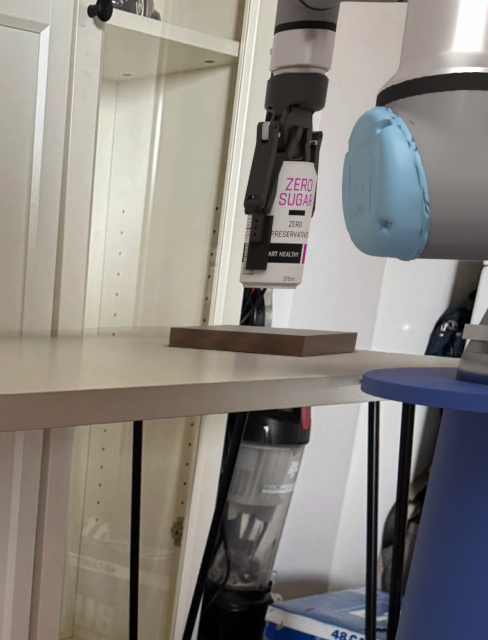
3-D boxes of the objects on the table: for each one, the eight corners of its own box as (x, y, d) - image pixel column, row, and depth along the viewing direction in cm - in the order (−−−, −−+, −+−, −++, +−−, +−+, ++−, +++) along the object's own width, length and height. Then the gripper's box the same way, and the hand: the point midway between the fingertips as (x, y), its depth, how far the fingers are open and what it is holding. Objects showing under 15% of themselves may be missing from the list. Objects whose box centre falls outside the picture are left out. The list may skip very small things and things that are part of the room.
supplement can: (256, 287, 146) (272, 167, 139) (311, 289, 140) (330, 164, 134) (227, 286, 140) (242, 162, 134) (282, 289, 135) (301, 159, 129)
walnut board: (354, 351, 142) (357, 332, 141) (301, 356, 132) (305, 335, 131) (226, 342, 155) (228, 324, 154) (168, 346, 144) (170, 327, 143)
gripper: (308, 88, 139) (282, 270, 149) (230, 66, 125) (207, 268, 135) (362, 83, 135) (331, 271, 144) (287, 59, 121) (259, 270, 130)
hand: (271, 270), depth 139 cm, fingers closed on supplement can, 8 cm apart
